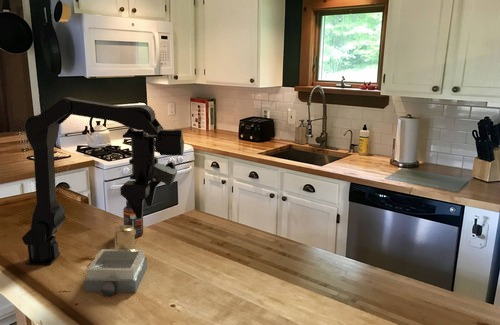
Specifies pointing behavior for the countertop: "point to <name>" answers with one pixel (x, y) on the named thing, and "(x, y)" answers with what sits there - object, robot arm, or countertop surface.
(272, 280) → the countertop surface
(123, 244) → the spout can
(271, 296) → the countertop surface
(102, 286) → the grey open box
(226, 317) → the countertop surface
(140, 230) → the supplement bottle
